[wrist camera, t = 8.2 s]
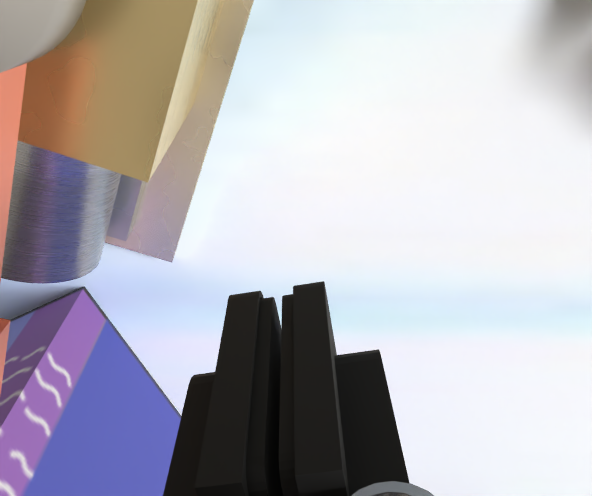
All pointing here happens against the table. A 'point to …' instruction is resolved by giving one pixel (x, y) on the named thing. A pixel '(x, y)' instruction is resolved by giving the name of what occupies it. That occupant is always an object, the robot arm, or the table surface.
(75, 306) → the cereal box
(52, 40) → the lever
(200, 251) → the table surface
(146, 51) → the valve body
